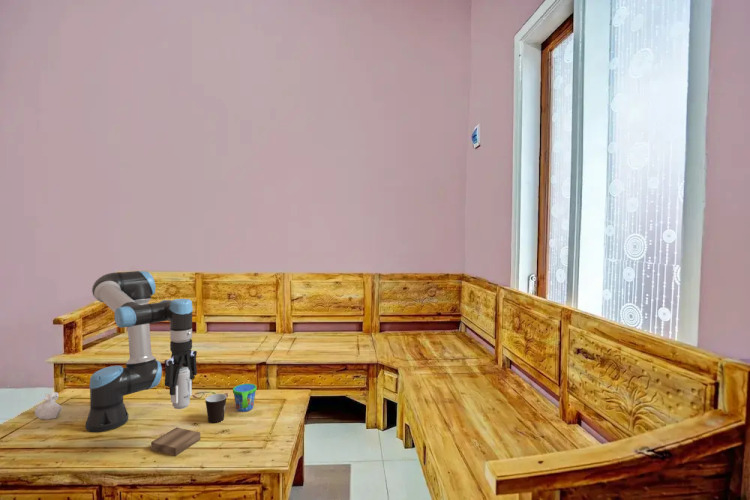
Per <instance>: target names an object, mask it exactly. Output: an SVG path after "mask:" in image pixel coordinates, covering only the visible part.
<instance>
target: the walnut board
mask: <svg viewBox="0 0 750 500" xmlns="http://www.w3.org/2000/svg"><path fill="white" fill-rule="evenodd" d="M199 441H201V431H200V432H199V431H196V430H192V429H191V430H190V429H186V428H181V427H174V428H172V429H171V430H169V431H168V432H166V433H165V434H163V435H161V436H160V437H157V438H156V439H154V440H152V441H151V442H150V450H151V451H153V452H158V453H162V454H166V455H170V456H174V457H176V456H178V455H180V454H181V453H183V452H185V451H186V450H188V449H189V448H191V447H192V446H194V445H195V444H197V443H199Z"/></svg>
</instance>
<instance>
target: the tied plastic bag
mask: <svg viewBox="0 0 750 500" xmlns="http://www.w3.org/2000/svg"><path fill="white" fill-rule="evenodd" d="M59 396H60V395H59V393H58V392H57V391H53V392H49V393H48V394H45V396H44V398H43V400H44V401H45V402H42V403H39V404H37V405H36V406H35V409H34V415H35V417H36V418H38V419H39V420H52V419H56V418H58V415H59V414H60V412H61V411H62V409H63V407H62V406H61V404H59V403H57V402H56V400H58V399H59Z"/></svg>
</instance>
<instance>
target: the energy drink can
mask: <svg viewBox="0 0 750 500" xmlns="http://www.w3.org/2000/svg"><path fill="white" fill-rule="evenodd" d="M172 383H173V382H172ZM176 385H177V386H178V403H172V402H171V403H172V407H173V409H175V410H183V409H185V408H187V407H188V406H189V405H190V404H191V396H190V370H189V369H188V367H186V366H183V365H182V366H181V368H180V370H179V375H178V379H177V383H176Z"/></svg>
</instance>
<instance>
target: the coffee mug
mask: <svg viewBox="0 0 750 500" xmlns="http://www.w3.org/2000/svg"><path fill="white" fill-rule="evenodd" d="M204 400H205V401H204V402H205V409H206V415H207V416H206V417H207V422H208V424H219V423H221V421H222V422H224V419H225V414H226V404H227V403H226V402H227V394H224V393H214V394H210V395H208V396H206V397H205V398H204Z"/></svg>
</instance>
